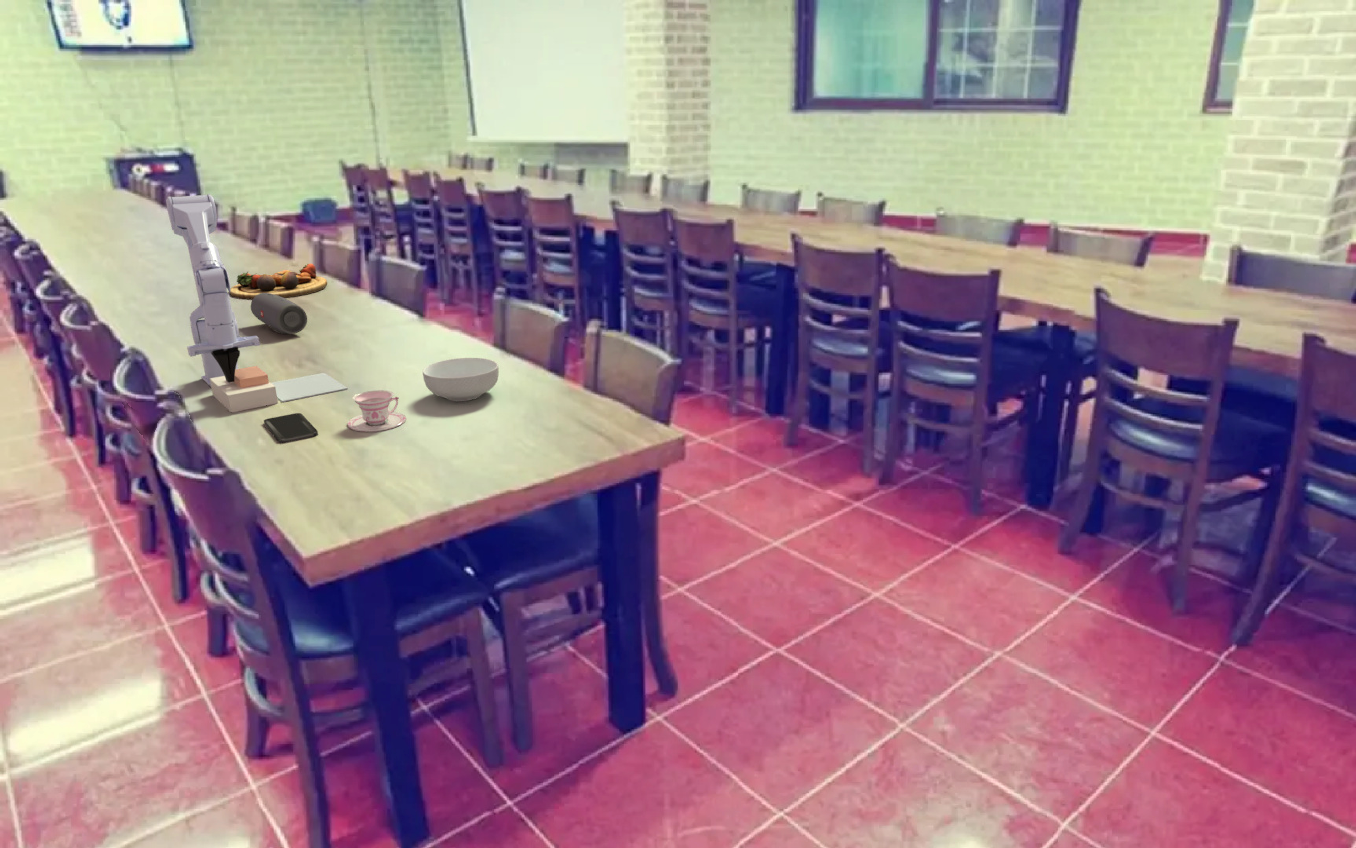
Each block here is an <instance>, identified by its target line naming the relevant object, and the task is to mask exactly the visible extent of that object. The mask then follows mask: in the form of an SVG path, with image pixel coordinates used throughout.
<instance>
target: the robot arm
mask: <svg viewBox="0 0 1356 848" xmlns="http://www.w3.org/2000/svg"><path fill="white" fill-rule="evenodd" d="M165 203H166V208H167V213H168V217H169V222H170V226H171V229H172V231H173V233H174V235H178V236H180V237H182V238H183V239H184V242H185V243H186V246H187V249H188V254H189V260H190V263H191V264H190V265H191V268H192V269H191V270H192V274H193V278H194V283H195V287H196V292H197V298H198V302H199V305H198V306H197V308H196V309H194V310H193V311H192V312H191V313H190V316H189V321H190V328H191V333H192V339H193V344H194V345H188V346H186V349H187V354H188V356H189V357H192V358H193V357H196V356H198V355H201V359H202V360H201V361H202V364H203V369H204V375H201V377H200V378H201V380H203V381H204V382H205V383H206V384H207V385H208V386H210V388H211V383H210V378H215V377H221V376H225V378H226V381H227V382H234V381H235V370H236V369H240V368H239V363H238V360H239V358H240V355H241V351H240V350H239V349H241V348H247V347H259V346H260V345H261V344H260V338H259V337H258V336H257V335H252V336H240V332H239V327H238V322H237V319H236V315H235V311H233V308H232V303H231V297H230V296H231V295H230V289H231V288H232V286H231V280H230V277H229V273H228V270H227V269H226V266H225V265H224V263H223V262H222V258H221V255H220V252H219V248H218V247H217V246H216V244H214V243H212V242H211V239H210V238H211V237H210V234H212V233H214V232H216V230H217V226H218V225H217V223H218V222H217V219H218V215H217V207H216V204H215V199H214V196H212V195H211V194H210V193H209V194H204V195H203V194H199V195H183V196H167V198H166V199H165Z"/></svg>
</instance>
